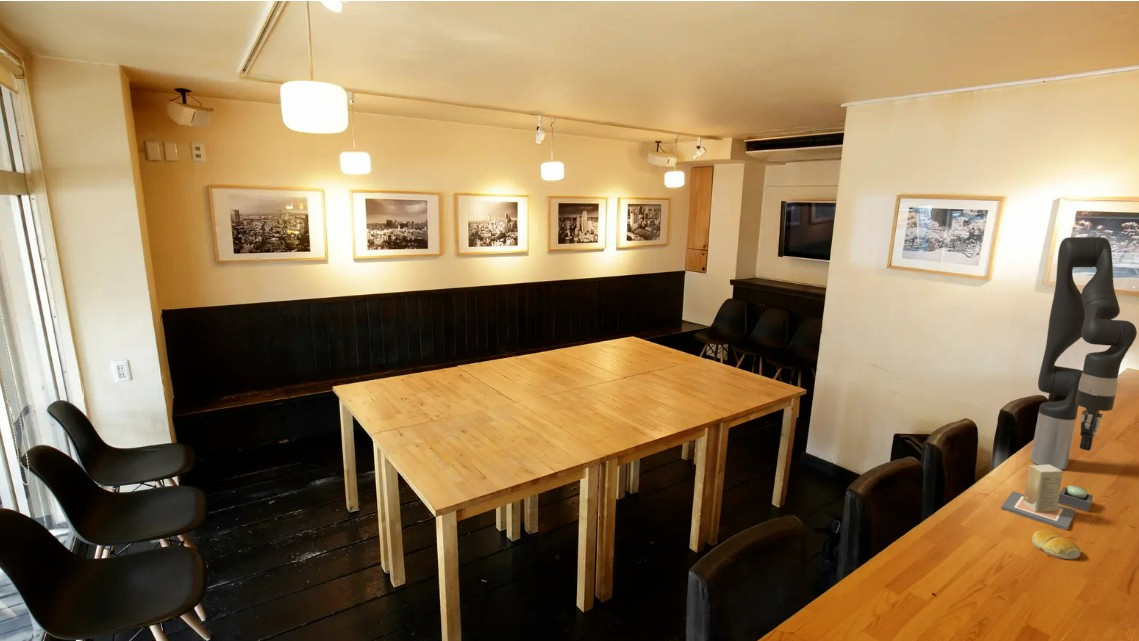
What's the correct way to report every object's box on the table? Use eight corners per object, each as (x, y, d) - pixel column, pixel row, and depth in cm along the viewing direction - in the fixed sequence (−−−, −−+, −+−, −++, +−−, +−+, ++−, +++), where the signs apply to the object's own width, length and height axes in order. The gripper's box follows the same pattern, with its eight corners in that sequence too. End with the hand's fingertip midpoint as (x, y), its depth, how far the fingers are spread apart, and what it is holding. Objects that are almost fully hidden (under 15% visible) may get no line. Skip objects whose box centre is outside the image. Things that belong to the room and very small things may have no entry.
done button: (1068, 489, 158) (1069, 484, 158) (1086, 495, 155) (1088, 489, 155) (1065, 494, 156) (1066, 488, 155) (1084, 499, 153) (1085, 493, 152)
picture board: (1012, 493, 161) (1012, 490, 161) (1075, 512, 151) (1076, 509, 151) (1001, 508, 153) (1001, 505, 153) (1067, 530, 143) (1067, 527, 143)
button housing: (1061, 495, 160) (1063, 486, 160) (1091, 504, 155) (1093, 495, 155) (1057, 502, 156) (1059, 494, 156) (1088, 512, 151) (1089, 502, 151)
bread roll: (1049, 537, 140) (1052, 523, 139) (1086, 559, 131) (1089, 544, 131) (1021, 540, 139) (1024, 525, 138) (1056, 561, 130) (1059, 546, 130)
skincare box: (1043, 503, 154) (1050, 463, 152) (1057, 512, 150) (1064, 471, 147) (1021, 504, 154) (1028, 464, 151) (1034, 512, 150) (1041, 471, 147)
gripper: (1082, 382, 156) (1071, 438, 160) (1074, 392, 148) (1062, 451, 151) (1118, 388, 151) (1106, 446, 154) (1112, 399, 142) (1099, 460, 146)
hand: (1085, 449), depth 153 cm, fingers closed
